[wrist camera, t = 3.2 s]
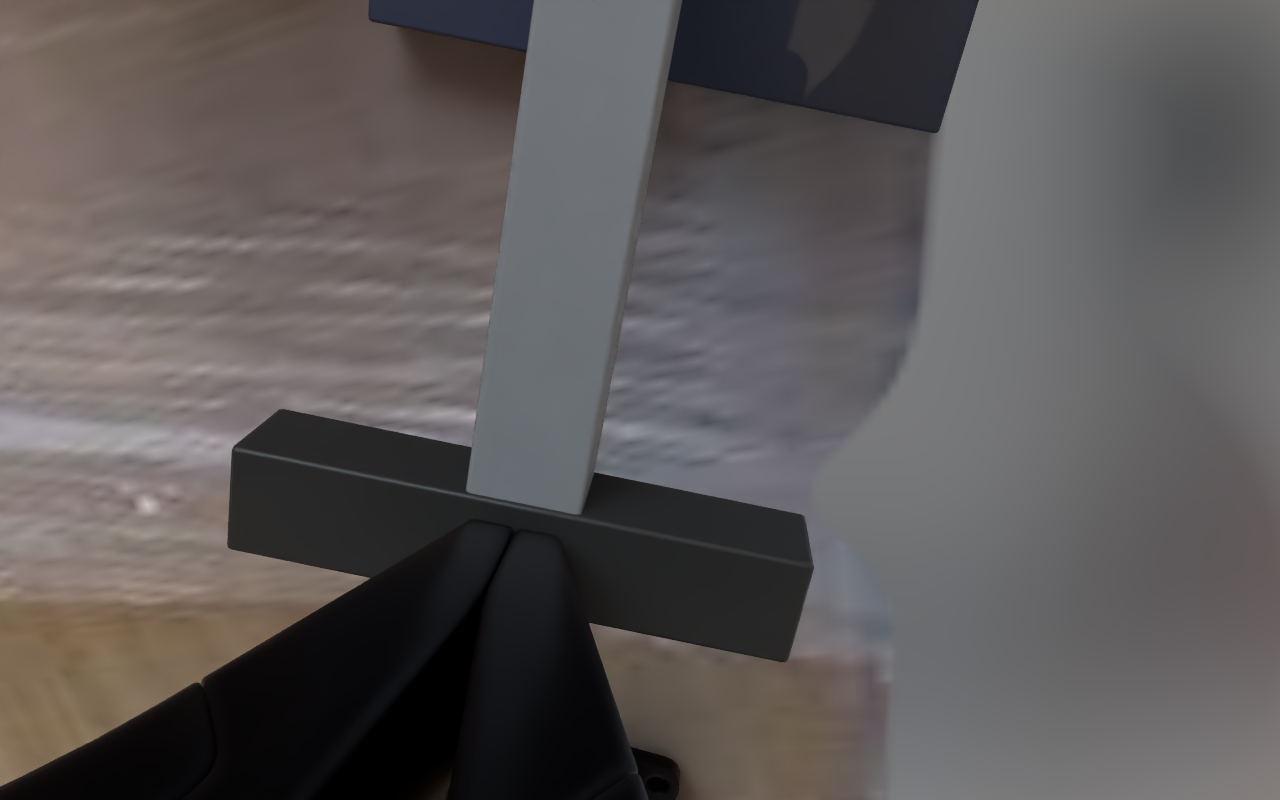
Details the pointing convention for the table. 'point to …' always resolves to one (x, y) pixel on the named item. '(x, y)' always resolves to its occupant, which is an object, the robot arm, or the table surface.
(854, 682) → the table surface
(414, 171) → the table surface
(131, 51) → the table surface
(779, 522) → the lever
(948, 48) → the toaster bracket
